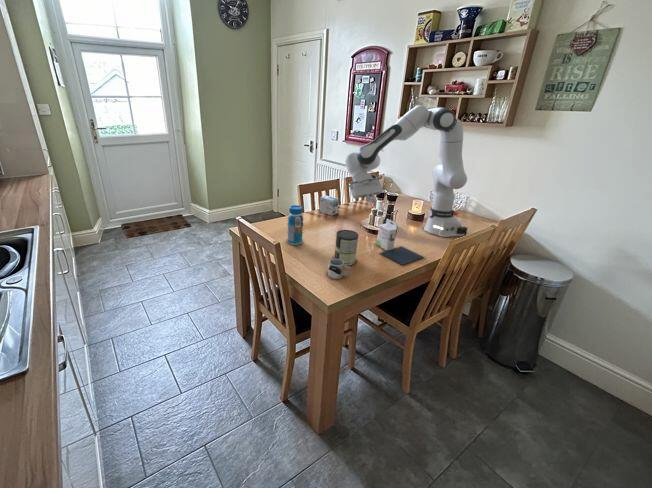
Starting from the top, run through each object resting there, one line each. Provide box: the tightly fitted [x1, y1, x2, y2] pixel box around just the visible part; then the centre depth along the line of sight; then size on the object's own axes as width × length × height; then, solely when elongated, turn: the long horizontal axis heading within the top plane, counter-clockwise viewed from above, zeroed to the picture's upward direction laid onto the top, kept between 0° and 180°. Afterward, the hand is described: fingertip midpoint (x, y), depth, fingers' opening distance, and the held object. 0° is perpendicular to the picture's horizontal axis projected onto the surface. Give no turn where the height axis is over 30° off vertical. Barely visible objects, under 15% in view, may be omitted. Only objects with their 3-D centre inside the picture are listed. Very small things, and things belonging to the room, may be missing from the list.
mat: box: [379, 246, 424, 266], centre depth 165 cm, size 14×16×1 cm
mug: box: [327, 258, 352, 280], centre depth 145 cm, size 10×7×7 cm, turn 69°
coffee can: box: [333, 229, 359, 266], centre depth 157 cm, size 10×10×14 cm
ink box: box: [375, 218, 398, 252], centre depth 172 cm, size 9×5×15 cm, turn 26°
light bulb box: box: [319, 195, 340, 217], centre depth 220 cm, size 11×7×11 cm, turn 47°
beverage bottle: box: [286, 204, 304, 246], centre depth 174 cm, size 8×8×20 cm
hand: (372, 202), depth 175 cm, fingers closed
